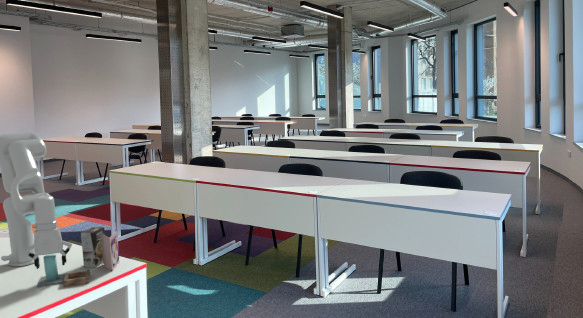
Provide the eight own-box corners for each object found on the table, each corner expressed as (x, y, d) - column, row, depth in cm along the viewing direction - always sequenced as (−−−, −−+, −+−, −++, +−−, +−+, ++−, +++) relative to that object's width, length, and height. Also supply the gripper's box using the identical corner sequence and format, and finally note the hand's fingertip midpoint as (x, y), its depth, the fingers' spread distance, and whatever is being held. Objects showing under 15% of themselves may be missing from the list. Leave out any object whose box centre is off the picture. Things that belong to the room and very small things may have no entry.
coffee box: (96, 267, 212) (92, 232, 209) (83, 267, 213) (79, 232, 211) (108, 260, 220) (104, 226, 218) (95, 260, 222) (92, 226, 219)
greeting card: (114, 271, 207) (111, 237, 205) (96, 272, 206) (93, 238, 204) (121, 261, 218) (118, 230, 216) (104, 263, 217) (101, 231, 215)
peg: (45, 282, 196) (42, 258, 194) (47, 278, 200) (44, 255, 198) (57, 280, 197) (55, 256, 196) (59, 276, 201) (56, 253, 200)
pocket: (64, 286, 191) (63, 280, 191) (67, 278, 200) (66, 273, 199) (88, 283, 194) (88, 277, 194) (90, 275, 203) (89, 269, 202)
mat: (37, 287, 192) (37, 285, 192) (41, 278, 202) (41, 276, 201) (64, 283, 195) (64, 281, 195) (67, 274, 205) (67, 273, 205)
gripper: (21, 231, 189) (25, 272, 191) (68, 225, 194) (72, 265, 197) (24, 226, 196) (29, 266, 198) (70, 221, 201) (74, 260, 204)
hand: (51, 266), depth 198 cm, fingers open, 9 cm apart
